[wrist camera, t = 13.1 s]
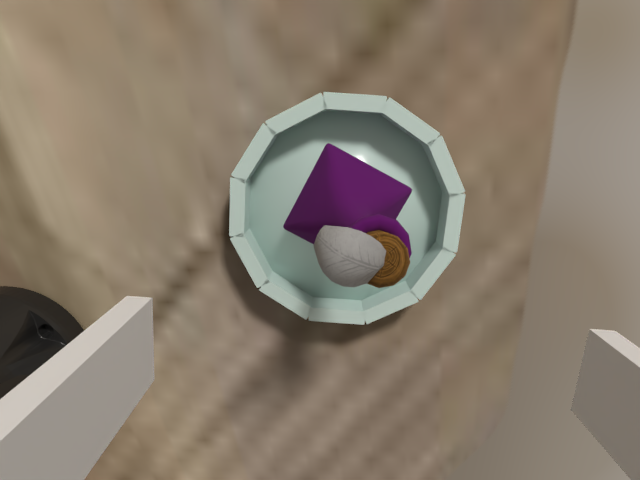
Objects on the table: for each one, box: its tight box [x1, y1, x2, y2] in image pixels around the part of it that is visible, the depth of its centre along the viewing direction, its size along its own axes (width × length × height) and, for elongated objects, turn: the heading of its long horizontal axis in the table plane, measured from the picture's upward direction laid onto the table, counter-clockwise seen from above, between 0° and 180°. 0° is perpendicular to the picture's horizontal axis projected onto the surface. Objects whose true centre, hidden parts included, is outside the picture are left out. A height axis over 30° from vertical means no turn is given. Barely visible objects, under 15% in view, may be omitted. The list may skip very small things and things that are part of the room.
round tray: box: [229, 92, 466, 325], centre depth 37 cm, size 18×18×4 cm
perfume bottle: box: [283, 143, 412, 288], centre depth 29 cm, size 8×8×18 cm
